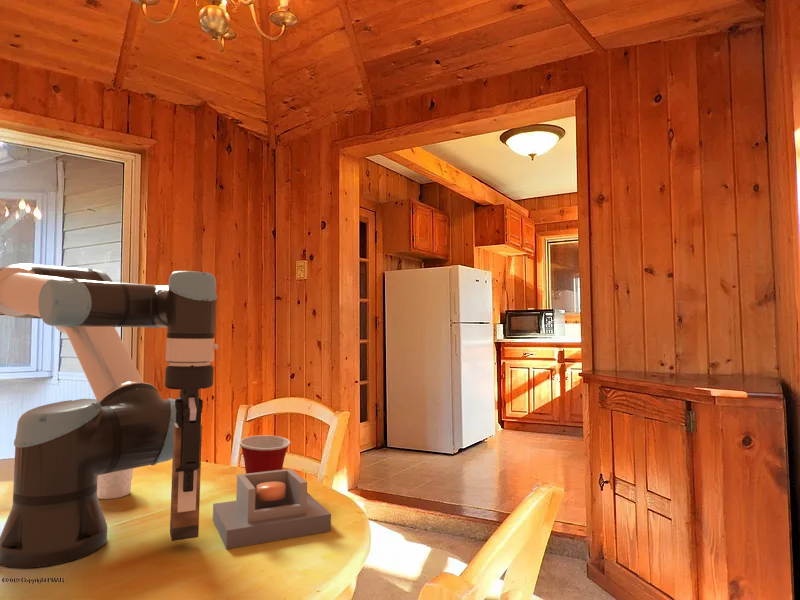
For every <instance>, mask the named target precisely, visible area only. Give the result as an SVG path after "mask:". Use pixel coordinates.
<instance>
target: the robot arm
mask: <svg viewBox="0 0 800 600" xmlns="http://www.w3.org/2000/svg"><path fill="white" fill-rule="evenodd" d="M217 299H218V294H217V279H216V276H215V275H214V274H213V273H210V272H206V271H205V272H204V271H195V270H194V271H193V270H177V271H176V270H175V271H173V272H171V274H170V275H169V278H168V284H167V285H166V284H165V285H161V284H159V285H158V284H157V285H156V284H145V283H129V282H118V281H117V282H115V281H114V282H113V279H112V278H111V277H110V276H109V275H108V273H106V272H104V271H102V270H99V269H93V268H89V267H80V268H79V267H70V266H69V267H68V266H58V265H49V264H48V265H46V264H35V263H14V264H8V265H5V266H2V267H0V314H2V315H5V316H8V317H14V318H20V319H21V318H22V319H39V320H41V319H42V321H43V323H44V324H45V325H48V326H53V327H54V328H55V329H56V330H57V331H59V332H60V333H62V334H66V335H67V336H68V339H69V341H70V342H69V343H70V345H72V348H73V350H74V353H75V355H76V357H77V359H78V362H79V364H80V365H81V368H82V370H83V372H84V375H85V377H86V380H87V381H88V384H89V386H90V388H91V391H92V392H93V394H94V397H95V399H94V398H79V399H75V400H71V399H70V400H69V399H68V400H61V401H57V402H51V403H47V404H43V405H41V406H37V407H33V408H32V409H29V410H27V411H25V412H23V414H21V416H20V417H19V418H18V421H17V424H16V425H17V427H16V433H15V439H14V441H13V446H14V450H15V451H14V465H13V466H14V469H13V471H14V472H13V492H12V493H13V495H12V506H11V509H10V512H9V514H8V517H7V519H6V521H5V524H4V526H3V529H2V530H1V531H2V532H1V534H0V565H2V566H4V567H7V568H8V567H9V568H13V569H14V568H18V569H27V568H28V569H29V568H31V569H32V568H41V567H48V566H53V565H58V564H62V563H67V562H70V561H73V560H76V559H81V558H83V557H85V556H88V555H90V554H93V553H94V552H96V551H98V550H99V549H101V548H102V547H103V546H104V545H105V544H106V543H107V541H108V524H107V521H106V518H105V515H104V511H103V509H102V505H101V503H100V499H99V498H98V497H97V480H98V475H102V474H107V473H112V472H117V471H122V470H127V469H132V468H133V469H136V468H140V467H141V468H142V467H145V466H146V467H147V466H156V465H157V464H160V463H164V462H168V461H170V460H173V435H174V423H177V424H178V427H180V428H181V460H180V468H175V472H179V478H178V505H177V512H186V511H193V510H196V487H197V469H198V468H199V466H200V464H199V449H200V425H202V422H201V421H202V413H203V407H204V406H203V405H204V403H203V399H201V397H200V396H199V391H200V390H201V389H202V390H203V389H210V388H212V387H213V385H214V378H215V377H214V376H215V375H214V373H215V371H214V370H215V369H214V368H215V367H214V365H212V364H211V363H212V362H214V359H215V352H214V350H218V349H219V345H218V343H215V334H216V320H217V319H216V318H217ZM116 328H148V329H151V328H153V329H159V328H162V329H164V328H166V330H167V331H166V333H167V334H166V339H165V340H166V341H165V343H166V344H165V361H166V362H167V363H168V365H166V367H165V371H164V372H165V373H164V374H165V376H164V377H165V378H164V380H165V381H164V386H165V388H166V389H169V390H170V389H171V390H179V397H177V398H174V399H173V398H171V397H170V398H167V399H163V398H162V396H161V394H160V392H159V391H158V389H157V387H156V386H155V385H153V384H152V383H149V382H144V380H143V379H142V376H141V375H140V373H139V371H138V369H137V367H136V365H135V363H134V361H133V359H132V357H131V355H130V354H129V352H128V350H127V348H126V346H125V344H124V342H123V340H122V338H121V337H120V335H119V333H118V331H117V329H116Z"/></svg>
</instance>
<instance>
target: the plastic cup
mask: <svg viewBox="0 0 800 600" xmlns="http://www.w3.org/2000/svg"><path fill="white" fill-rule="evenodd" d="M290 445H291V440H290V439H288V438H286V437H282V436H278V435H270V434H269V435H267V434H266V435H265V434H263V435H261V434H260V435H258V434H257V435H250V436H246V437H244V438H242V439H240V440H239V446H240V447H241V452H242V457H243V462H244V470H245V474H248V473H257V472H266V471H275V470H283V467H284V462H285V457H286V453H287V451H288V448H289V446H290Z"/></svg>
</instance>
